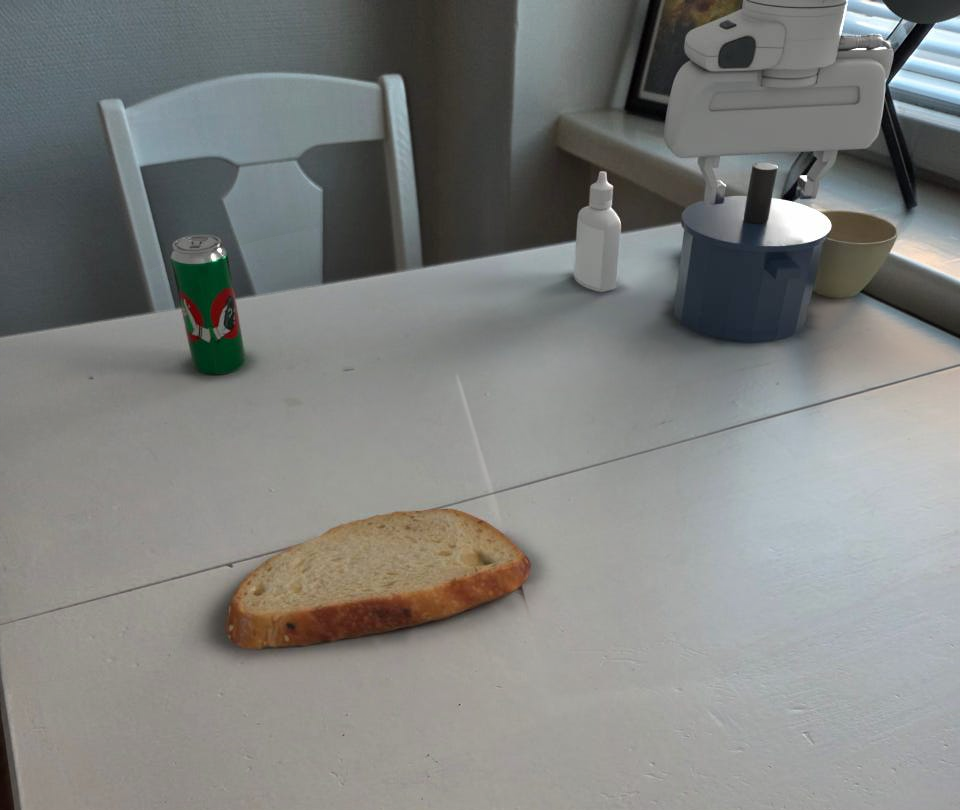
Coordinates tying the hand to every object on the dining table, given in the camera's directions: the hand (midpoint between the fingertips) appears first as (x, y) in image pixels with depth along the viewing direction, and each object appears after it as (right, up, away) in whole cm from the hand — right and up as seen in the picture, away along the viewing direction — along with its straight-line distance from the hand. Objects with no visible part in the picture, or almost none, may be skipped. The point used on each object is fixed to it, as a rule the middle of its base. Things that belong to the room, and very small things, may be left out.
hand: (759, 200), depth 96 cm
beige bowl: (+12, -4, +13) cm, 18 cm away
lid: (0, -2, +2) cm, 3 cm away
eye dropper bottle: (-15, -3, +15) cm, 21 cm away
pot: (0, -9, +8) cm, 12 cm away
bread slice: (-34, -40, -27) cm, 59 cm away
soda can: (-53, -17, 0) cm, 56 cm away
